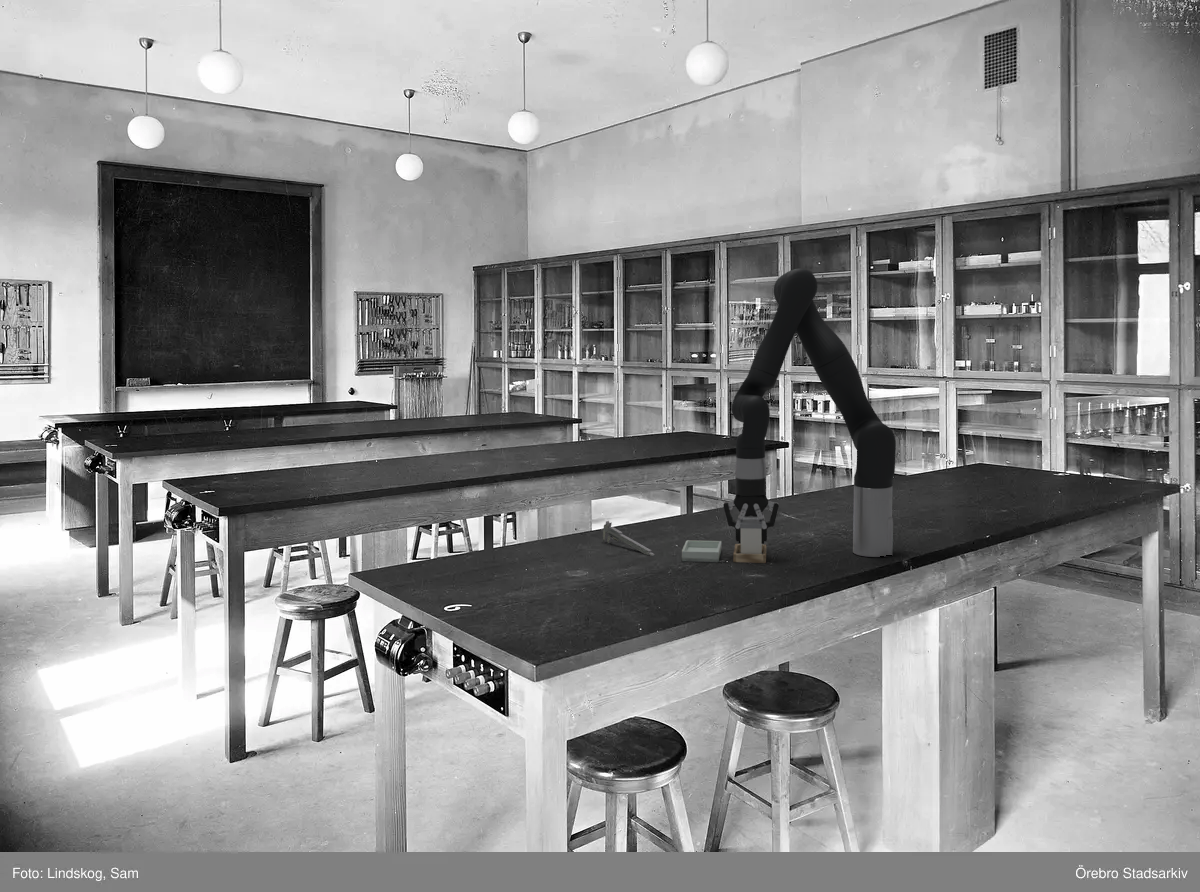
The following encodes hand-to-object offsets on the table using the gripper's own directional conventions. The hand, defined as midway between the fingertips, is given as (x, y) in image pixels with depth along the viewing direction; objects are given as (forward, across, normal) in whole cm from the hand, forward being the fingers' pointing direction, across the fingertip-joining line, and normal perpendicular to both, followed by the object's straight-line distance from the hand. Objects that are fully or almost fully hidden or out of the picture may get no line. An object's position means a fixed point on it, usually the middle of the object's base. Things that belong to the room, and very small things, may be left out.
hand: (751, 542), depth 228 cm
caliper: (+4, +32, -6) cm, 33 cm away
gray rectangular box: (+2, 0, 0) cm, 2 cm away
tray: (+4, +12, 0) cm, 13 cm away
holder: (+4, 0, 0) cm, 4 cm away
